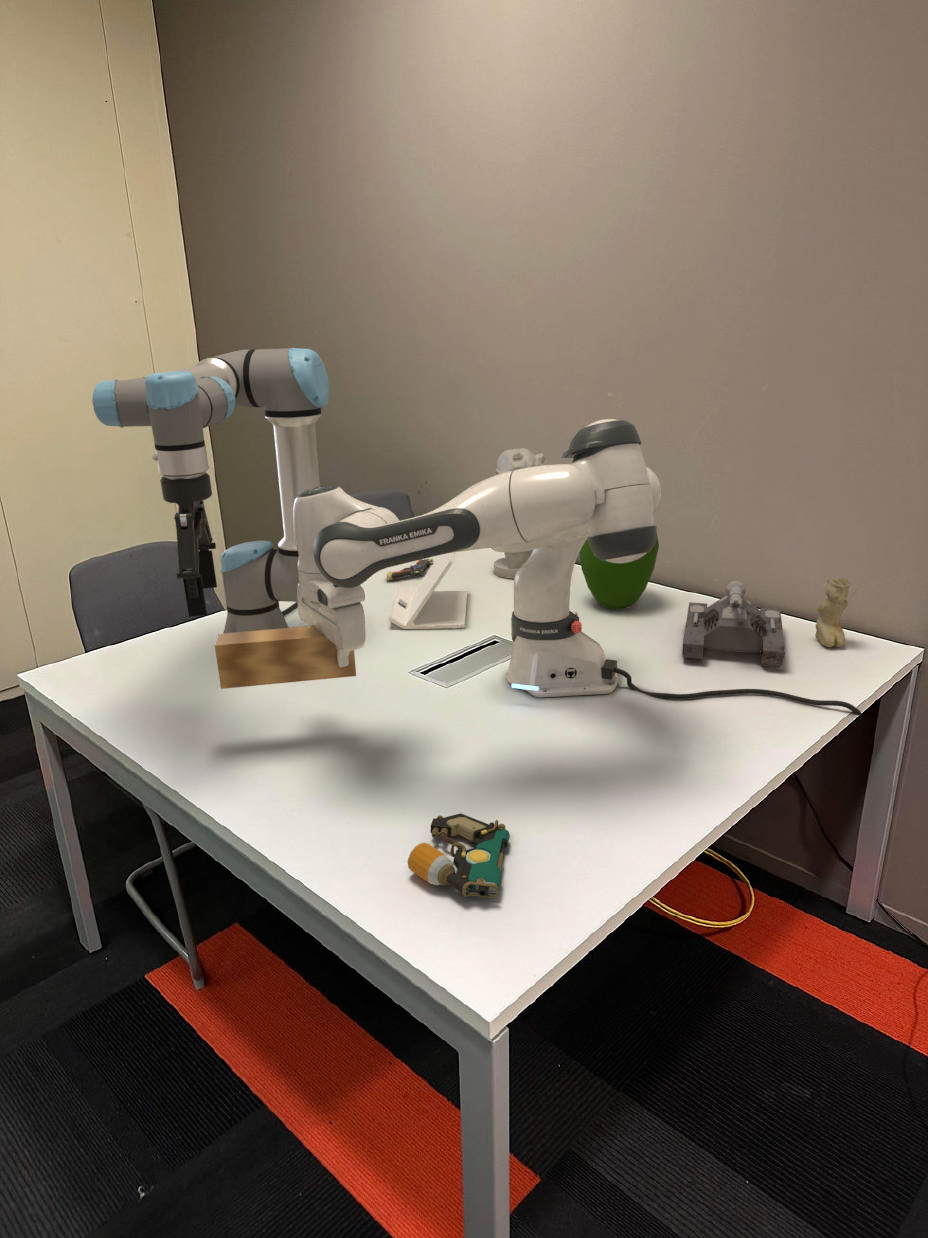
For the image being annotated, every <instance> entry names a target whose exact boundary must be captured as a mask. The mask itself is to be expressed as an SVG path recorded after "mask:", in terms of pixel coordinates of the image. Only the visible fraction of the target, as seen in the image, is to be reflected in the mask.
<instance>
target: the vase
mask: <svg viewBox="0 0 928 1238" xmlns="http://www.w3.org/2000/svg"><path fill="white" fill-rule="evenodd" d="M659 543H660V542H659V537H658V533H657V534H656V543H655V545H654V547H653V548H652V550H651V551H650V552H648V553H646V554H645V555H644V556H642V557H641V558H639V559H637V560H634V561H632V562H628V563H612V562H608V561H605V560H603V561H601V560H600V559H598V558H597V557H595V556H594V554H593V552H592V550H591V548H590V545H589V542H588V539H587V540H586V542H585V543H584V545H583V547H582V549H581V551H580V553H579V562H580V569H581V571H582V574H583V577H584V580H585V583H586V585H587V588H588V590H589V591H590V594H592V597H593V598H594V600H595V601H596V602H597V603H598V604H599V605H600V606H602V607H604V608H606V609H609V610H625V609H628V608H630V607H632V606H634V604H636V602H638V601H639V599H640V597H641V596H642V595H643V593H644V592H645V590H646V588H647V586H648V584H649V581H650V579H651V577H652V574H653V572H654V570H655V566H656V562H657V557H658V552H659V548H660V544H659Z"/></svg>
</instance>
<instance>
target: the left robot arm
mask: <svg viewBox="0 0 928 1238" xmlns="http://www.w3.org/2000/svg"><path fill="white" fill-rule="evenodd" d="M329 381H330V380H329V377H328V372H327V369H326V366H325V363H324V362H323V360H322V358H321V357H320V355H319V354H318V353H317V352H316V351H315V350H313V349H310V348H299V347H298V348H297V347H286V348H260V349H259V348H258V349H252V348H251V349H250V348H248V349H247V348H246V349H240V350H235V351H231V352H230V351H229V352H227V353H223V354H218V355H215V356H212V357H211V356H210V357H207V358H204V359H201V360H199V362H197V363H196V364H195V365H194V366H190V367H186V368H180V369H175V370H171V371H161V372H154V373H149V374H148V375H146V376H145V375H144V376H142V377H137V378H132V379H131V378H130V379H115V378H114V379H112V380H102V381H100V382H97V384H96V385H95V387H94V389H93V390H92V397H91V402H92V407H93V411H94V415H95V416H96V419H98V421H99V422H100V423H102V425H104V426H107V427H119V428H122V429H123V428H124V427H126V428H127V427H128V428H129V427H132V428H133V427H151V431H152V437H153V442H154V443H153V444H154V449H155V454H152V460H154V461H155V462H157V468H158V473H159V475H161V478H160V480H159V482H160V488H161V494H162V499H163V501H164V502H167V503H169V504H176V505H177V506H178V510H177V512H175V514H174V517H173V519H174V521H175V529H176V542H177V544H176V545H177V558H178V573H176V578H177V580H182V582H183V588H184V593H185V600H186V607H187V613H188V617H189V618H192V617H202V616H204V617H205V616H208V611H207V604H206V603H207V602H206V597H205V591H204V590H205V589H215V588H218V584H217V577H216V576H217V575H216V569H215V562H214V556H213V550H216V549H217V544H216V542H213V541H214V540H213V537H212V532H211V529H210V525H209V520H208V517H207V512H206V509H205V502H204V501H206V500H208V499H210V498H211V497H212V495H213V490H212V483H211V476H210V474H208V473H207V472H208V470H209V469H210V465H209V460H208V452H207V451H208V450H207V447H206V446H207V445H206V443H205V442H206V441H205V436H204V429H205V428H208V427H211V426H214V425H219V424H221V423H222V422H224V421H225V420H227V419H229V418H230V417H231V416H232V414H233V413H234V411H235V408H236V407H242V408H263V409H264V418H265V419H266V420H267V421H268V422H270V424H271V425H272V426H273V435H274V445H275V456H276V466H277V476H278V485H279V487H278V488H279V494H280V495H279V497H280V498H279V499H280V506H281V507H280V508H281V516H282V528H283V537H282V539H281V540H280V541H279V542H278V543H277V549H275V548H274V544H273V542H272V541H270V540H265V539H263V540H262V539H261V540H260V539H259V540H252V541H247V542H243V543H239V544H235V545H233V546H231V547H229V548H227V549H225V550H224V551H222V553H221V555H220V568H221V569H220V573H221V577H222V584H223V589H224V599H225V604H226V613H227V615H226V619H225V624H224V629H223V633H222V634H224V633H236V632H247V631H259V630H271V629H282V628H290V627H289V625H288V623H287V621H286V618H285V616H286V614H288V613H290V612H291V611H293V610H294V609H296V608H298V604H297V586H298V584H299V577H298V568H297V564H298V558H299V555H298V550H297V547H296V545H295V540H294V529H293V507H294V502H295V499H296V497H297V496H298V495H299V494H301V493H302V492H304V491H306V490H309V489H313V488H315V487H320V486H321V482H320V471H319V458H318V457H319V456H318V446H317V434H316V432H317V431H316V423H317V421H318V420H319V419H320V418H321V416H322V409H323V408H324V407H326V406H327V405H328V404H329V400H330V382H329ZM280 602H288V603H289V602H290V603H291V602H293V603H292V604H291V605H290V606H289V607H287V608H286V609H284V610H282V609H281V608H280Z"/></svg>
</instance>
